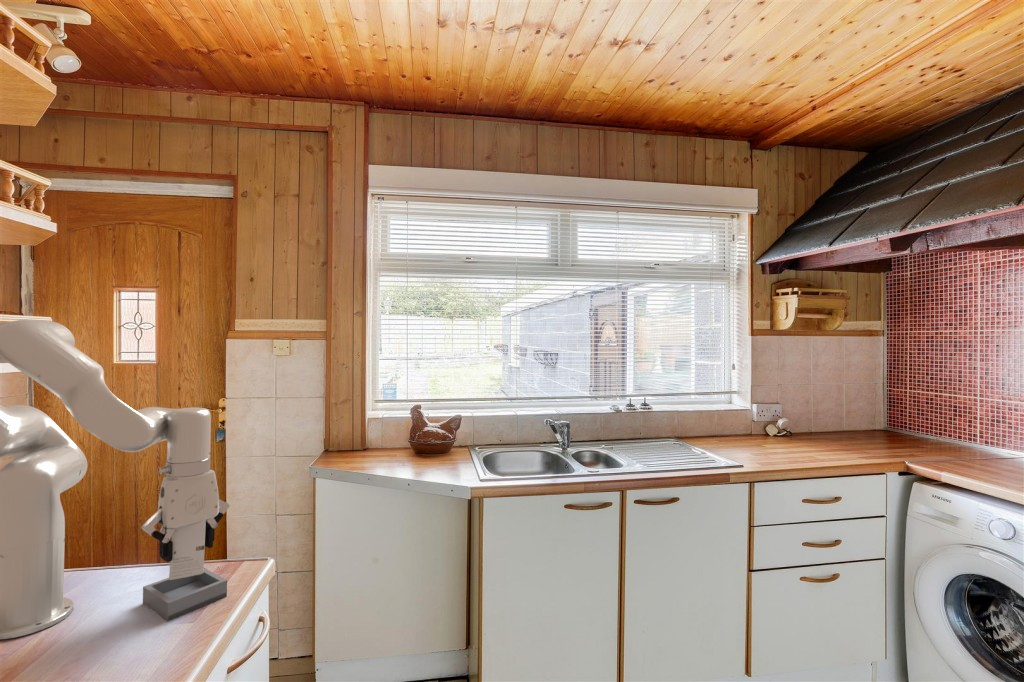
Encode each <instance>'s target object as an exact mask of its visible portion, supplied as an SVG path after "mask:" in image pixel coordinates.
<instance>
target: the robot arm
mask: <svg viewBox="0 0 1024 682" xmlns="http://www.w3.org/2000/svg"><path fill="white" fill-rule="evenodd" d="M0 364H10V365H11V366H13V368H15V369H17V370H18V371H20V372H21V373H23V374H24V375H26V376H27V377H29V378H31V379H32V380H33V381H35V382H36V383H38V384H39V385H40V386H42V387H43V388H45V389H46V390H48V391H49V392H51V393H52V394H54V395H55V396H56V397H57V398H59V399H60V400H61V402H62V403H63V405H64V407H65V409H67V411H68V412H69V413H70V415H71V416H72V418H73V419H74V420H75V421H76V423H78V425H80V426H81V427H82V428H83V429H84V430H85V431H87V432H88V433H89V434H91V435H93V436H95V438H97V439H99V440H100V441H102V442H103V443H105V444H107V446H110V447H111V448H113V449H116V450H118V451H121V452H127V453H137V452H140V451H144V450H145V449H148V448H149V447H151V446H153V445H155V444H159V443H161V442H164V441H167V444H166V462H165V465H164V466H162V467H159V468H158V472H159V474H160V475H165V476H164V477H163V478H162V482H161V484H160V490H159V495H158V501H157V502H158V504H157V511H156V512H155V513H154V514H153V515H152V516H151V517H150V518H149V519H148V520H147V521H145V523H144V524H143V525H142V526H141V529H142V531H144V532H145V533H147V534H148V535H149V536H150V537H152V538H153V539H156V540H158V542H159V545H158V546H159V548H158V550H159V552H158V553H159V557H160V558H161V559H162V560H163V561H165V562H167V563H170V561H171V560H172V556H173V542H172V541H171V536H172V534H173V532H174V530H175V529H178V528H182V527H185V526H189V525H192V524H196V523H199V522H201V521H203V517H204V516H206V527H205V548H209V549H210V548H213V547H214V542H215V534H216V533H215V532H216V531H215V528H217V527H218V524H219V523H220V521H221V520H222V518H224V514H225V513H226V512H227V511H228V509H229V508H230V504H229V503H228V502H226V501H224V500H222V499H221V498H220V497H219V487H218V480H217V476H216V472H215V470H213V469H211V440H212V439H211V429H212V427H211V426H212V425H211V424H212V419H211V418H212V417H211V416H212V415H211V411H210V410H209V409H208V408H205V407H194V406H193V407H182V408H171V407H170V408H168V407H161V406H148V407H144V408H141V409H138V410H135V409H134V408H132V407H131V406H129V405H128V404H127V403H125V402H124V401H123V400H121V399H119V398H118V397H117V396H116V395H115V394H114V393H113V392H112V391H111V390H110V389H109V387H108V386H107V384H106V381H105V371H104V368H103V367H102V365H101V364H99V363H98V362H97V361H96V360H94V359H92V358H91V357H90V356H88V355H87V354H86V353H84V352H82V351H81V350H80V349H79V348H78V347H76V339H75V337H74V334H73V333H72V332H71V330H70V329H68V328H67V327H66V326H65V325H62V324H61V323H59V322H57V321H51V320H39V319H19V320H18V319H17V320H13V321H0ZM7 457H10V458H12V461H10V462H8V463H6V464H5V465H3V466H2V467H1V468H0V640H9V639H15V638H19V637H23V636H27V635H30V634H34V633H37V632H40V631H42V630H45V629H47V628H49V627H52V626H54V625H56V624H58V623H59V622H61V621H63V620H64V619H65V618H67V617H68V616H69V615H70V614H71V613H72V612H73V610H74V605H75V603H74V601H73V600H72V599H71V598H68V597H64V585H65V582H64V581H65V543H66V542H65V541H66V536H65V535H66V531H65V530H66V522H65V521H66V520H65V519H66V517H65V512H64V508H63V505H62V501H61V494H62V493H64V492H65V491H67V490H69V489H70V488H72V487H74V486H75V485H77V484H78V483H79V482H81V481H82V479H83V478H84V477H85V475H86V473H87V471H88V460H87V456H86V455H85V453H84V452H83V450H81V448H80V447H79V445H77V444H76V443H75V442H74V441H73V439H71V437H70V436H69V435H68V434H67V433H66V432H65V431H64V430H63V429H62V428H61V427H60V426H59V425H58V424H57V423H56V422H55V421H54V419H52V418H51V417H50V416H49V415H48V414H47V413H46V412H44V411H42V410H40V409H39V408H36V407H34V406H31V405H26V404H14V405H12V404H10V405H6V406H4V405H2V404H0V459H3V458H7ZM156 524H158V525H159V526H161V528H160V530H157V529H156V528H155V526H156Z"/></svg>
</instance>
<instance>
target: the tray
mask: <svg viewBox="0 0 1024 682" xmlns="http://www.w3.org/2000/svg"><path fill="white" fill-rule="evenodd" d="M227 594H228V579H226V578H224V577H222V576H221V575H218V574H217V573H215V572H213V571H211V570H209V569H207V568H205V567H204V572H203V573H202V574H200V575H194V576H189V577H184V578H179V579H173V580H169V577H166V578H163V579H161V580H159V581H155V582H153V583H150V584H147V585H144V586H143V587H142V604H143V606H145V607H147V608H148V609H149V610H151V611H152V612H154V613H155V614H156V615H158V616H159V617H161V618H162V619H164V620H165V621H166V622H170V621H172V620H174V619H177V618H180V617H182V616H185V615H187V614H189V613H191V612H194V611H196V610H198V609H200V608H203V607H206V606H208V605H211V604H213V603H214V602H218V601H221V600H222V599H225V598H227V597H228V595H227ZM224 597H225V598H224ZM217 600H218V601H217Z"/></svg>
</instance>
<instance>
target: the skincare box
mask: <svg viewBox="0 0 1024 682" xmlns="http://www.w3.org/2000/svg"><path fill="white" fill-rule="evenodd" d="M205 527H206V516H204V517H203V521H201V522H199V523H196V524H192V525H189V526H185V527H182V528H178V529H175V530H174V532H173V534H172V536H171V538H170V541H172V542H173V556H172V560H171V561H170V562H169V574H168V575H169V576H168V578H169V580H173V579H179V578H184V577H189V576H194V575H200V574H202V573H203V572H204V568H205V548H206V546H205Z"/></svg>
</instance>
